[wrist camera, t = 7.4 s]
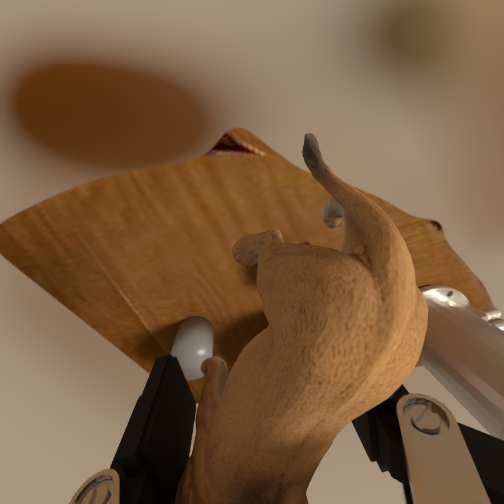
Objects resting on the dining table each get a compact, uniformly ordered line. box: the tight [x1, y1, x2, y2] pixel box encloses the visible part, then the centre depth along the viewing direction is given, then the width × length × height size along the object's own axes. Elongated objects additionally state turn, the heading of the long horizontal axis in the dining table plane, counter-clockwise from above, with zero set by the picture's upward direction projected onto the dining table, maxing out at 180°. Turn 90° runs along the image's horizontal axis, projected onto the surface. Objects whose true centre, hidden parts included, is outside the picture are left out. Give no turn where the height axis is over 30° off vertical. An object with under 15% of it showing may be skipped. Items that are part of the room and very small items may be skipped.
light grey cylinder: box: [170, 316, 214, 380], centre depth 32 cm, size 5×5×6 cm
